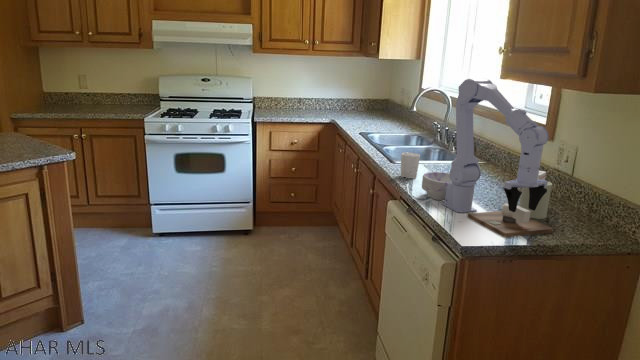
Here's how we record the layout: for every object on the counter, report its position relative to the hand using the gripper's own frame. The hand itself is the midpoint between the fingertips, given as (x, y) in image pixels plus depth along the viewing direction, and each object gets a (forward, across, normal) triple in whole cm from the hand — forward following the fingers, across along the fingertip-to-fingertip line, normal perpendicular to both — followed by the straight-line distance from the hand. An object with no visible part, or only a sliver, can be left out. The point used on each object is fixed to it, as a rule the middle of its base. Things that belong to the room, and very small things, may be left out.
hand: (521, 210), depth 145 cm
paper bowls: (+6, -5, +35) cm, 36 cm away
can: (+6, +16, +12) cm, 21 cm away
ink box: (+6, +26, +23) cm, 35 cm away
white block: (+3, 0, +2) cm, 4 cm away
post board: (+6, 0, +5) cm, 8 cm away
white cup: (+6, -2, +65) cm, 65 cm away
